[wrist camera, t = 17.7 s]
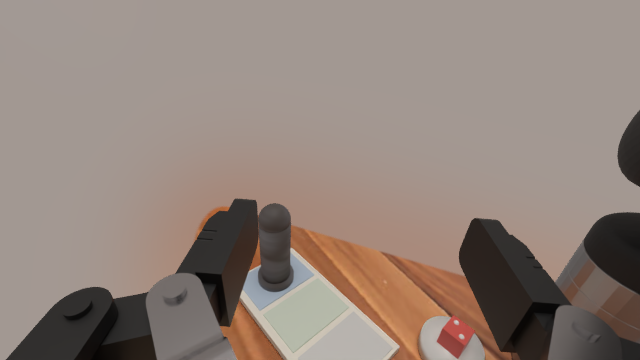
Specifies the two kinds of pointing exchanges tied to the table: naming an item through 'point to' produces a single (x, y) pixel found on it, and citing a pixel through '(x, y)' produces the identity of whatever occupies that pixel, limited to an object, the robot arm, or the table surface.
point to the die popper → (449, 340)
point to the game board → (314, 319)
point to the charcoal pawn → (275, 248)
